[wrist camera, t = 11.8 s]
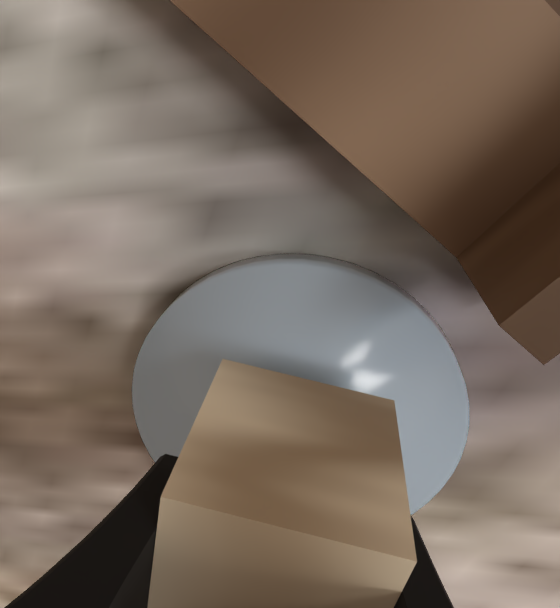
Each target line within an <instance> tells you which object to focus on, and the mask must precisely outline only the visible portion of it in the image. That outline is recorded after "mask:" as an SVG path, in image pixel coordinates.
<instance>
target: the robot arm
mask: <svg viewBox="0 0 560 608" xmlns="http://www.w3.org/2000/svg"><path fill="white" fill-rule="evenodd" d="M177 459H178V457H177V456H173V455H169V454H164V455H162V456H160V457H159V459H158V460H157V461H156V462H155V464H154V465H153V466H152V467H151V469H150V470H149V471H148V472H147V473H146V474H145V476H144V477H143V478H142V479H141V480H140V481H139V482H138V484H137V485H136V486H135V487H134V488H133V489H132V490H131V491H130V492H129V493H128V494H127V496H126V497H125V498H124V499H123V500H122V501H121V502H120V503H119V504H118V505H117V506H116V507H115V508H114V509H113V510H112V511H111V512H110V513H109V514H108V515H107V516H106V517H105V518H104V519H103V520H102V521H101V522H100V523H99V524H98V525H97V526H96V527H95V528H94V529H93V530H92V531H91V532H90V533H89V534H88V535H87V536H86V537H85V538H84V539H83V540H82V541H81V542H80V543H79V544H77V545H76V546H75V547H74V548H73V549H72V550H71V551H70V552H69V553H68V554H66V555H65V556H64V557H63V558H62V559H61V560H60V561H59V562H58V563H57V564H55V565H54V566H53V567H52V568H51V569H50V570H49V571H48V572H47V573H45V574H44V575H43V576H42V577H41V578H40V579H39V580H37V581H36V582H35V583H34V584H33V585H31V586H30V587H29V588H28V589H27V590H26V591H24V592H23V593H22V594H21V595H20V596H18V597H17V598H16V599H15V600H13V601H12V602H11V603H10V604H9V605H7V606H6V607H5V608H147V606H148V598H149V589H150V581H151V573H152V564H153V556H154V548H155V540H156V531H157V523H158V515H159V506H160V498H161V495H162V493H163V490H164V488H165V486H166V484H167V481H168V479H169V477H170V475H171V473H172V470H173V468H174V466H175V464H176V461H177ZM411 522H412V529H413V536H414V543H415V551H416V558H417V563H416V565H415V567H414V569H413V571H412V573H411V575H410V577H409V579H408V581H407V582H406V584H405V586H404V588H403V590H402V592H401V594H400V596H399V598H398V600H397V602H396V604H395V606H394V608H454V607H453V605H452V603H451V601H450V599H449V597H448V595H447V593H446V591H445V588H444V586H443V584H442V582H441V580H440V578H439V576H438V573H437V571H436V569H435V567H434V565H433V563H432V560H431V558H430V556H429V554H428V551H427V549H426V547H425V545H424V542H423V540H422V538H421V535H420V533H419V531H418V529H417V526H416V524H415V522H414V520H413V518H412V516H411Z"/></svg>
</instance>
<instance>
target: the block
mask: <svg viewBox="0 0 560 608" xmlns="http://www.w3.org/2000/svg"><path fill="white" fill-rule="evenodd" d="M416 563H417V558H416V551H415V543H414V536H413V529H412V522H411V515H410V508H409V501H408V494H407V487H406V480H405V472H404V465H403V458H402V451H401V444H400V437H399V430H398V423H397V416H396V409H395V402H394V400H391V399H386V398H382V397H378V396H374V395H370V394H366V393H362V392H358V391H354V390H349V389H345V388H341V387H337V386H333V385H329V384H325V383H321V382H317V381H312V380H308V379H304V378H300V377H296V376H292V375H288V374H284V373H280V372H275V371H271V370H267V369H263V368H259V367H255V366H251V365H247V364H243V363H238V362H234V361H230V360H226V359H222V361H221V363H220V366H219V368H218V370H217V372H216V375H215V377H214V379H213V381H212V384H211V386H210V388H209V390H208V392H207V395H206V397H205V399H204V401H203V404H202V406H201V408H200V410H199V412H198V415H197V417H196V419H195V421H194V424H193V426H192V428H191V430H190V433H189V435H188V437H187V439H186V441H185V444H184V446H183V448H182V450H181V453H180V455H179V457H178V459H177V461H176V464H175V466H174V468H173V470H172V473H171V475H170V477H169V479H168V481H167V484H166V486H165V488H164V490H163V493H162V495H161V498H160V506H159V515H158V523H157V531H156V540H155V548H154V556H153V564H152V573H151V581H150V589H149V598H148V606H147V608H394V606H395V604H396V602H397V600H398V598H399V596H400V594H401V592H402V590H403V588H404V586H405V584H406V582H407V581H408V579H409V577H410V575H411V573H412V571H413V569H414V567H415V565H416Z"/></svg>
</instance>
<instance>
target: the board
mask: <svg viewBox="0 0 560 608" xmlns="http://www.w3.org/2000/svg"><path fill="white" fill-rule="evenodd" d="M170 1H171V2H172V3H173V4H174V5H175V6H176V7H178V8H179V9H180V10H181V11H182V12H183V13H184V14H185V15H186V16H188V17H189V18H190V19H191V20H192V21H193V22H194V23H195V24H196V25H198V26H199V27H200V28H201V29H202V30H203V31H204V32H205V33H207V34H208V35H209V36H210V37H211V38H212V39H213V40H214V41H215V42H217V43H218V44H219V45H220V46H221V47H222V48H223V49H224V50H225V51H227V52H228V53H229V54H230V55H231V56H232V57H233V58H234V59H236V60H237V61H238V62H239V63H240V64H241V65H242V66H243V67H244V68H246V69H247V70H248V71H249V72H250V73H251V74H252V75H253V76H254V77H256V78H257V79H258V80H259V81H260V82H261V83H262V84H263V85H265V86H266V87H267V88H268V89H269V90H270V91H271V92H272V93H273V94H275V95H276V96H277V97H278V98H279V99H280V100H281V101H282V102H283V103H285V104H286V105H287V106H288V107H289V108H290V109H291V110H292V111H294V112H295V113H296V114H297V115H298V116H299V117H300V118H301V119H302V120H304V121H305V122H306V123H307V124H308V125H309V126H310V127H311V128H312V129H314V130H315V131H316V132H317V133H318V134H319V135H320V136H321V137H323V138H324V139H325V140H326V141H327V142H328V143H329V144H330V145H331V146H333V147H334V148H335V149H336V150H337V151H338V152H339V153H340V154H341V155H343V156H344V157H345V158H346V159H347V160H348V161H349V162H350V163H352V164H353V165H354V166H355V167H356V168H357V169H358V170H359V171H360V172H362V173H363V174H364V175H365V176H366V177H367V178H368V179H369V180H370V181H372V182H373V183H374V184H375V185H376V186H377V187H378V188H379V189H381V190H382V191H383V192H384V193H385V194H386V195H387V196H388V197H389V198H391V199H392V200H393V201H394V202H395V203H396V204H397V205H398V206H399V207H401V208H402V209H403V210H404V211H405V212H406V213H407V214H408V215H410V216H411V217H412V218H413V219H414V220H415V221H416V222H417V223H418V224H420V225H421V226H422V227H423V228H424V229H425V230H426V231H427V232H428V233H430V234H431V235H432V236H433V237H434V238H435V239H436V240H437V241H439V242H440V243H441V244H442V245H443V246H444V247H445V248H446V249H447V250H449V251H450V252H451V253H452V254H453V255H454V256H455V257H456V258H457V259H458V261H459V262H460V264H461V266H462V267H463V269H464V270H465V272H466V274H467V275H468V277H469V278H470V280H471V282H472V283H473V285H474V286H475V288H476V290H477V291H478V293H479V294H480V296H481V298H482V299H483V301H484V302H485V304H486V306H487V307H488V309H489V310H490V312H491V314H492V315H493V317H494V318H495V320H496V322H497V323H498V325H499V326H500V327H501V328H502V329H504V330H505V331H506V332H507V333H508V334H509V335H510V336H511V337H513V338H514V339H515V340H516V341H517V342H518V343H519V344H521V345H522V346H523V347H524V348H525V349H526V350H527V351H528V352H530V353H531V354H532V355H533V356H534V357H535V358H536V359H538V360H539V361H540V362H541V363H542V364H543V365H544V364H546V363H547V362H548V361H550V360H551V359H553V358H554V357H555V356H557V355H558V354H559V353H560V0H170Z"/></svg>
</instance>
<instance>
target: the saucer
mask: <svg viewBox="0 0 560 608" xmlns="http://www.w3.org/2000/svg"><path fill="white" fill-rule="evenodd" d="M222 359H226V360H230V361H234V362H238V363H243V364H247V365H251V366H255V367H259V368H263V369H267V370H271V371H275V372H280V373H284V374H288V375H292V376H296V377H300V378H304V379H308V380H312V381H317V382H321V383H325V384H329V385H333V386H337V387H341V388H345V389H349V390H354V391H358V392H362V393H366V394H370V395H374V396H378V397H382V398H386V399H391V400H394V402H395V409H396V416H397V423H398V430H399V437H400V444H401V451H402V458H403V465H404V472H405V480H406V487H407V494H408V501H409V508H410V515H412V514H413V513H415V512H416V511H418V510H419V509H420V508H421V507H423V506H424V505H425V504H427V503H428V502H429V501H430V500H431V499H432V498H433V497H434V496H435V495H436V494H437V493H438V492H439V491H440V490H441V489H442V488H443V486H444V485H445V484H446V482H447V481H448V480H449V478H450V477H451V476H452V474H453V472H454V470H455V468H456V467H457V465H458V463H459V461H460V459H461V456H462V453H463V450H464V447H465V444H466V441H467V435H468V429H469V399H468V394H467V388H466V384H465V381H464V378H463V375H462V372H461V370H460V367H459V364H458V362H457V359H456V357H455V354H454V352H453V349H452V347H451V345H450V343H449V342H448V340H447V338H446V336H445V334H444V332H443V331H442V329H441V328H440V327H439V325H438V324H437V323H436V321H435V320H434V319H433V317H432V316H431V315H430V313H429V312H428V311H427V310H426V309H425V308H424V307H423V306H422V305H420V304H419V303H418V302H417V301H416V300H415V299H414V298H413V297H412V296H411V295H409V294H408V293H407V292H405V291H404V290H403V289H401V288H400V287H399V286H397V285H396V284H394V283H393V282H391V281H389V280H387V279H385V278H384V277H382V276H380V275H378V274H376V273H375V272H372V271H370V270H367V269H365V268H362V267H360V266H357V265H355V264H352V263H349V262H345V261H341V260H337V259H333V258H329V257H323V256H315V255H308V254H275V255H267V256H259V257H254V258H250V259H246V260H242V261H238V262H235V263H232V264H230V265H227V266H225V267H222V268H220V269H217V270H215V271H213V272H211V273H210V274H208V275H206V276H204V277H203V278H201V279H199V280H197V281H196V282H195V283H193V284H192V285H191V286H190V287H188V288H187V289H186V290H185V291H183V292H182V293H181V294H180V295H179V296H178V297H177V298H176V299H175V300H174V301H173V302H172V303H171V305H170V306H169V307H168V308H167V309H166V310H165V312H164V313H163V314H162V315H161V317H160V318H159V319H158V320H157V322H156V323H155V325H154V326H153V328H152V329H151V330H150V332H149V333H148V335H147V336H146V338H145V341H144V343H143V345H142V347H141V349H140V351H139V354H138V357H137V361H136V364H135V368H134V373H133V382H132V403H133V410H134V415H135V420H136V424H137V427H138V430H139V433H140V435H141V438H142V441H143V443H144V444H145V446H146V448H147V450H148V452H149V454H150V456H151V457H152V459H153V460H154V462H156V461H157V460H158V459H159V457H160V456H162V455H164V454H169V455H173V456H177V457H179V455H180V453H181V450H182V448H183V446H184V444H185V441H186V439H187V437H188V435H189V433H190V430H191V428H192V426H193V424H194V421H195V419H196V417H197V415H198V412H199V410H200V408H201V406H202V404H203V401H204V399H205V397H206V395H207V392H208V390H209V388H210V386H211V384H212V381H213V379H214V377H215V375H216V372H217V370H218V368H219V366H220V363H221V361H222Z"/></svg>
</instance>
